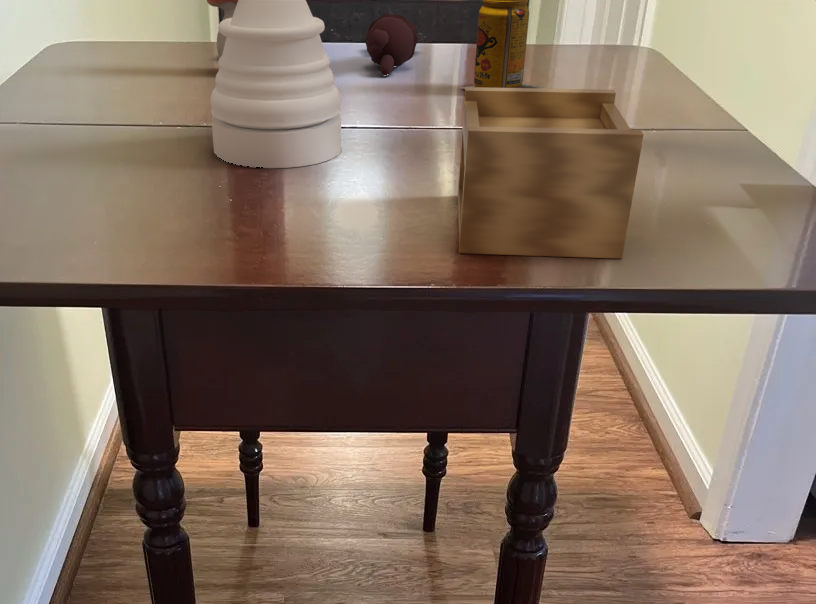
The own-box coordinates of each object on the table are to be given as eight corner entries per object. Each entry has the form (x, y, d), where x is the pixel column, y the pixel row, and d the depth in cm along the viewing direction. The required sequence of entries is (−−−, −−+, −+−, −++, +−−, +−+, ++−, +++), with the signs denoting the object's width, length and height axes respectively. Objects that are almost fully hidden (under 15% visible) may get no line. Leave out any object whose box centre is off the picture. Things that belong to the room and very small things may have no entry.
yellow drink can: (458, 89, 116) (465, -18, 110) (506, 80, 120) (515, -23, 114) (500, 99, 111) (510, -12, 105) (548, 89, 116) (560, -18, 109)
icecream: (370, 8, 131) (346, 35, 120) (420, -5, 129) (401, 21, 117) (381, 58, 135) (360, 89, 124) (430, 46, 132) (413, 77, 121)
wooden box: (597, 199, 80) (613, 89, 75) (622, 259, 68) (644, 134, 63) (457, 195, 81) (465, 87, 76) (459, 253, 69) (467, 130, 64)
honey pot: (240, 175, 86) (226, -44, 76) (197, 142, 96) (179, -56, 86) (363, 157, 91) (365, -51, 81) (310, 128, 100) (306, -61, 90)
